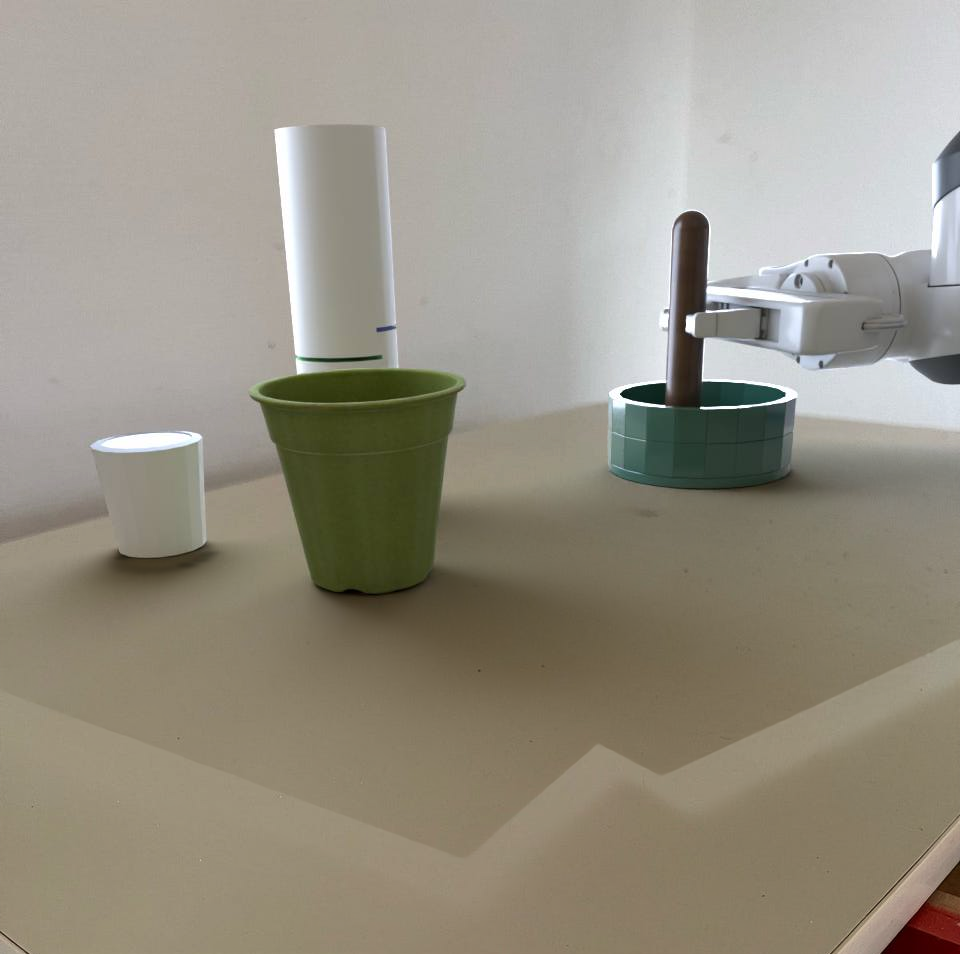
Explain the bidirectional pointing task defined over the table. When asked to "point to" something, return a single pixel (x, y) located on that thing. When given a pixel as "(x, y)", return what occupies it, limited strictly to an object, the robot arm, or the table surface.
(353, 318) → the cylindrical container
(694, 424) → the bowl
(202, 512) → the white short cylinder
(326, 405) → the plant pot
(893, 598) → the table surface
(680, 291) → the pestle
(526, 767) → the table surface
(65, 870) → the table surface
